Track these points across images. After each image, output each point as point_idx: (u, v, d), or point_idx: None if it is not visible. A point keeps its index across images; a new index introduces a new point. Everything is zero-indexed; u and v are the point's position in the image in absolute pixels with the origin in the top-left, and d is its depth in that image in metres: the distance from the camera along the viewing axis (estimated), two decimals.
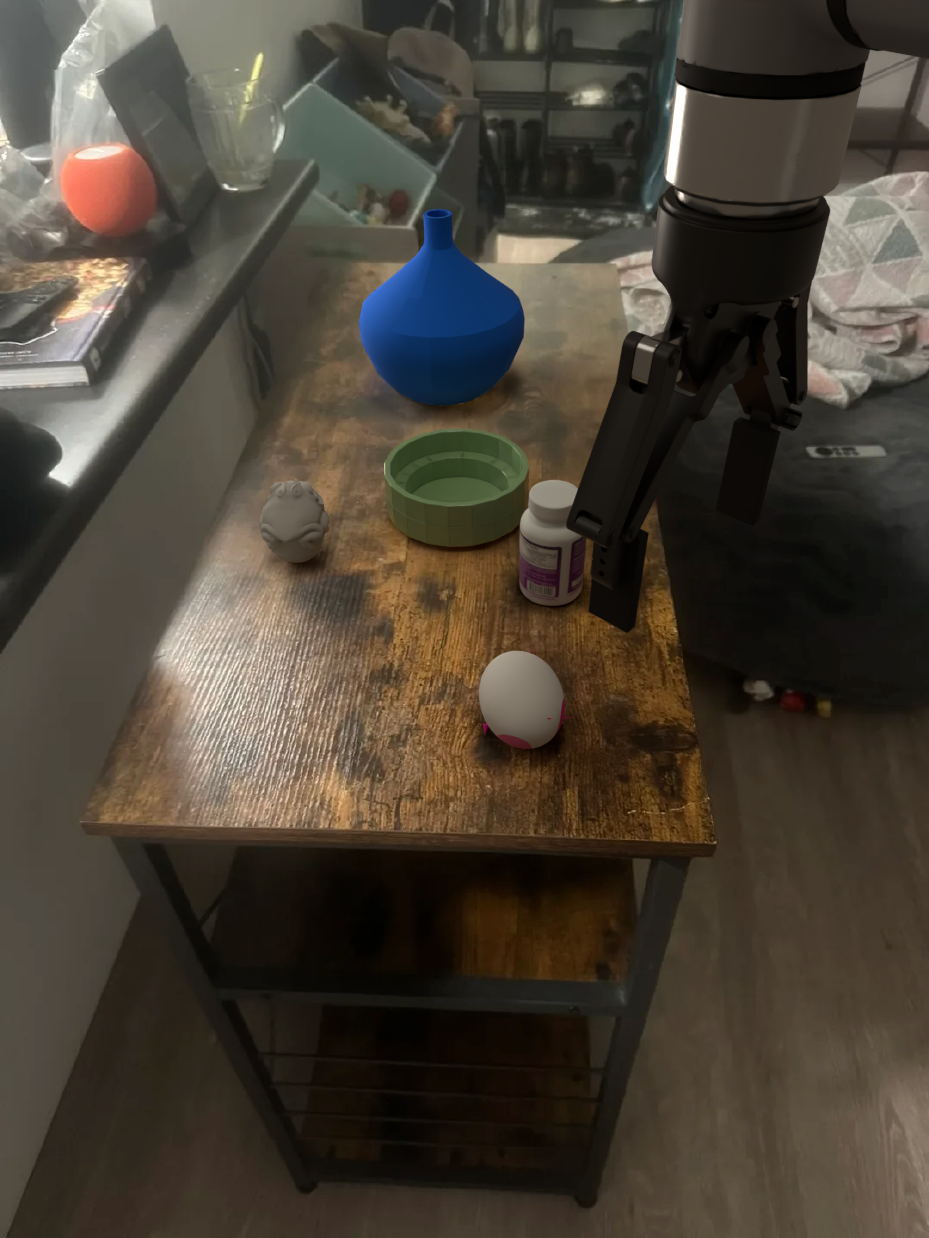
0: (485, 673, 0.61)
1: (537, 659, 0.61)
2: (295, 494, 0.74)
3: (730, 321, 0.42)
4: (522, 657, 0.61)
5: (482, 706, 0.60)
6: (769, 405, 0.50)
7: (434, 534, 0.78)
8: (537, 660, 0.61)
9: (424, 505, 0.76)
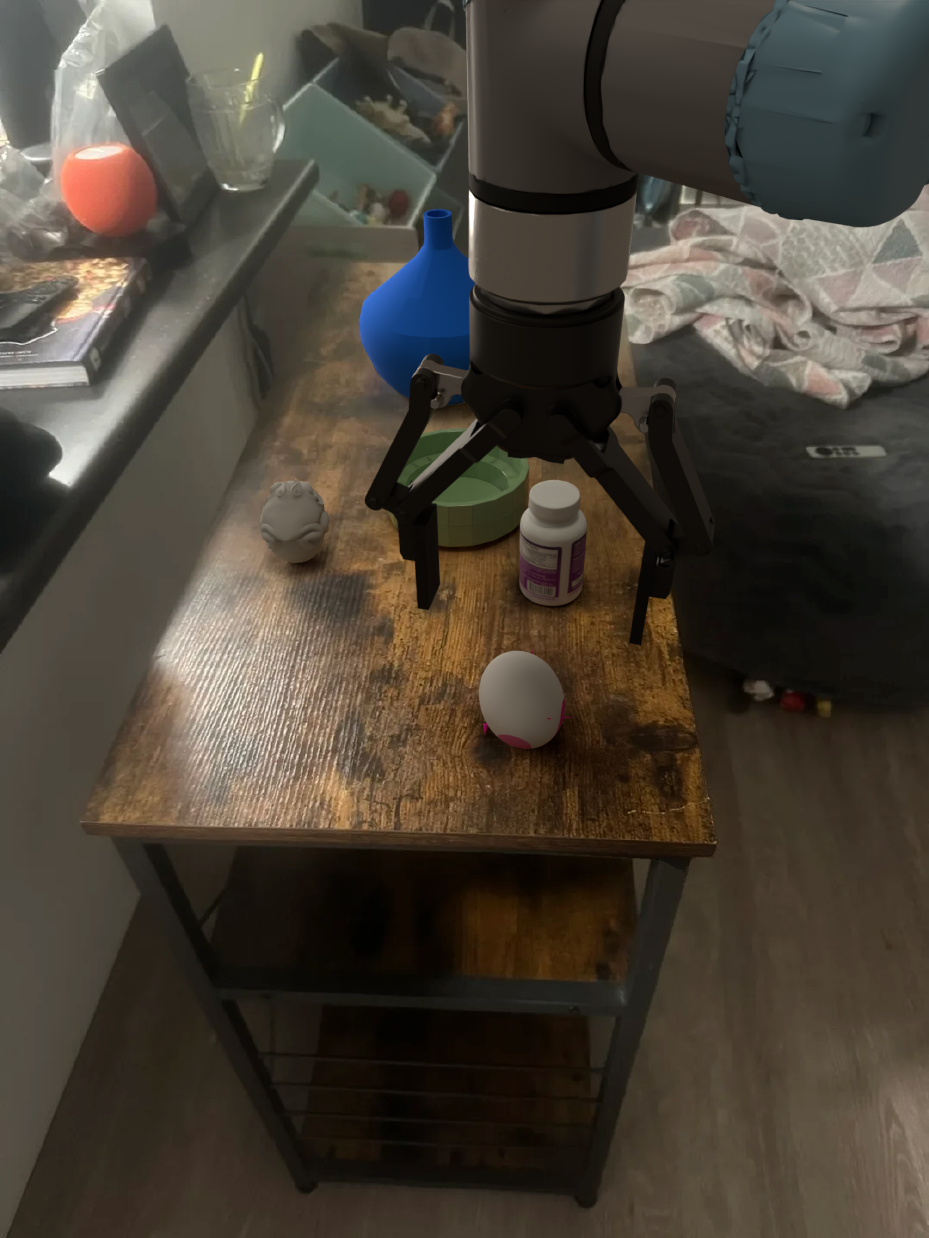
0: (485, 673, 0.61)
1: (537, 659, 0.61)
2: (295, 494, 0.74)
3: (514, 392, 0.45)
4: (523, 657, 0.61)
5: (482, 706, 0.60)
6: None
7: None
8: (537, 660, 0.61)
9: None
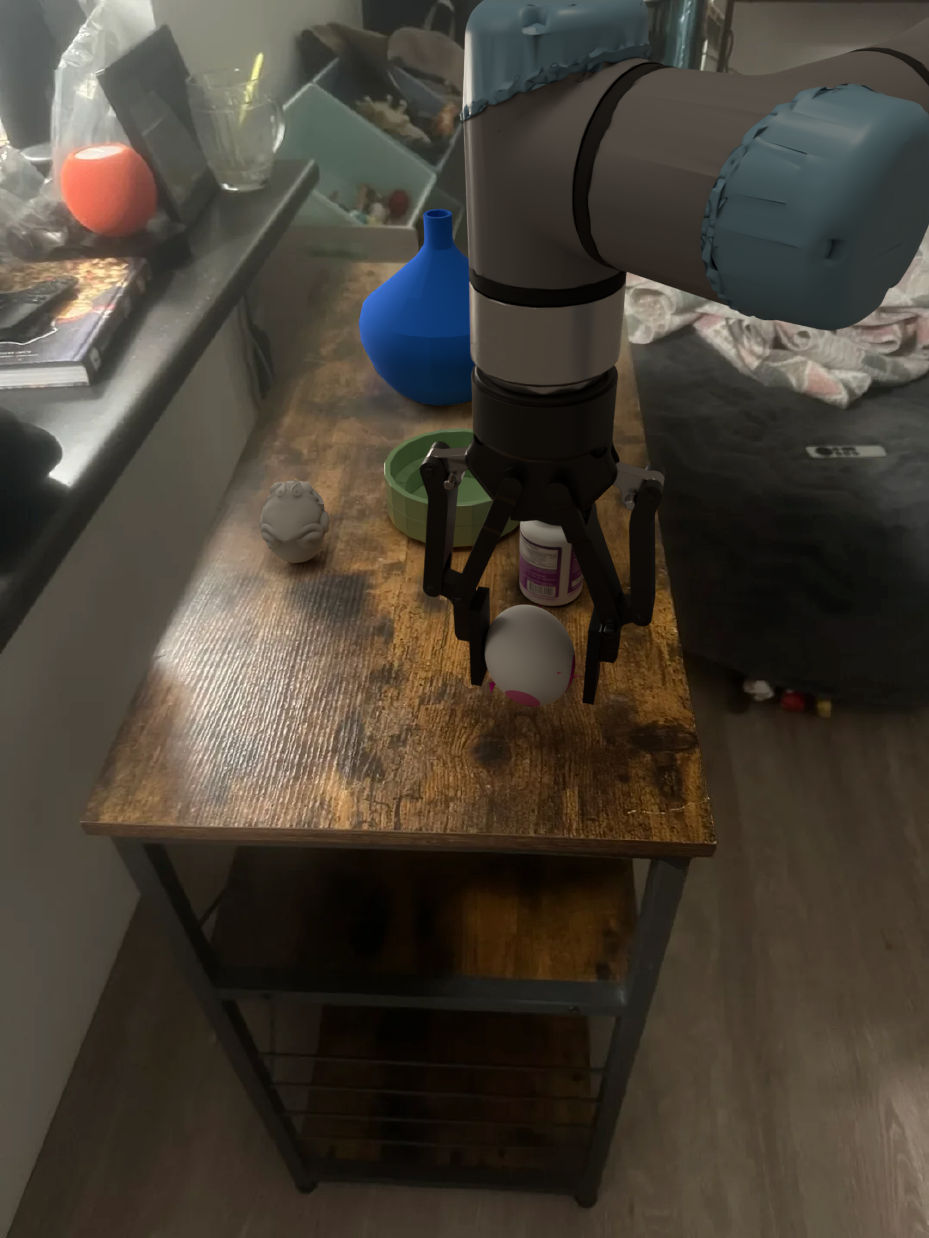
0: (491, 627, 0.58)
1: (546, 612, 0.58)
2: (295, 494, 0.74)
3: (515, 461, 0.48)
4: (531, 610, 0.57)
5: (488, 661, 0.57)
6: None
7: None
8: (546, 613, 0.58)
9: (424, 505, 0.76)
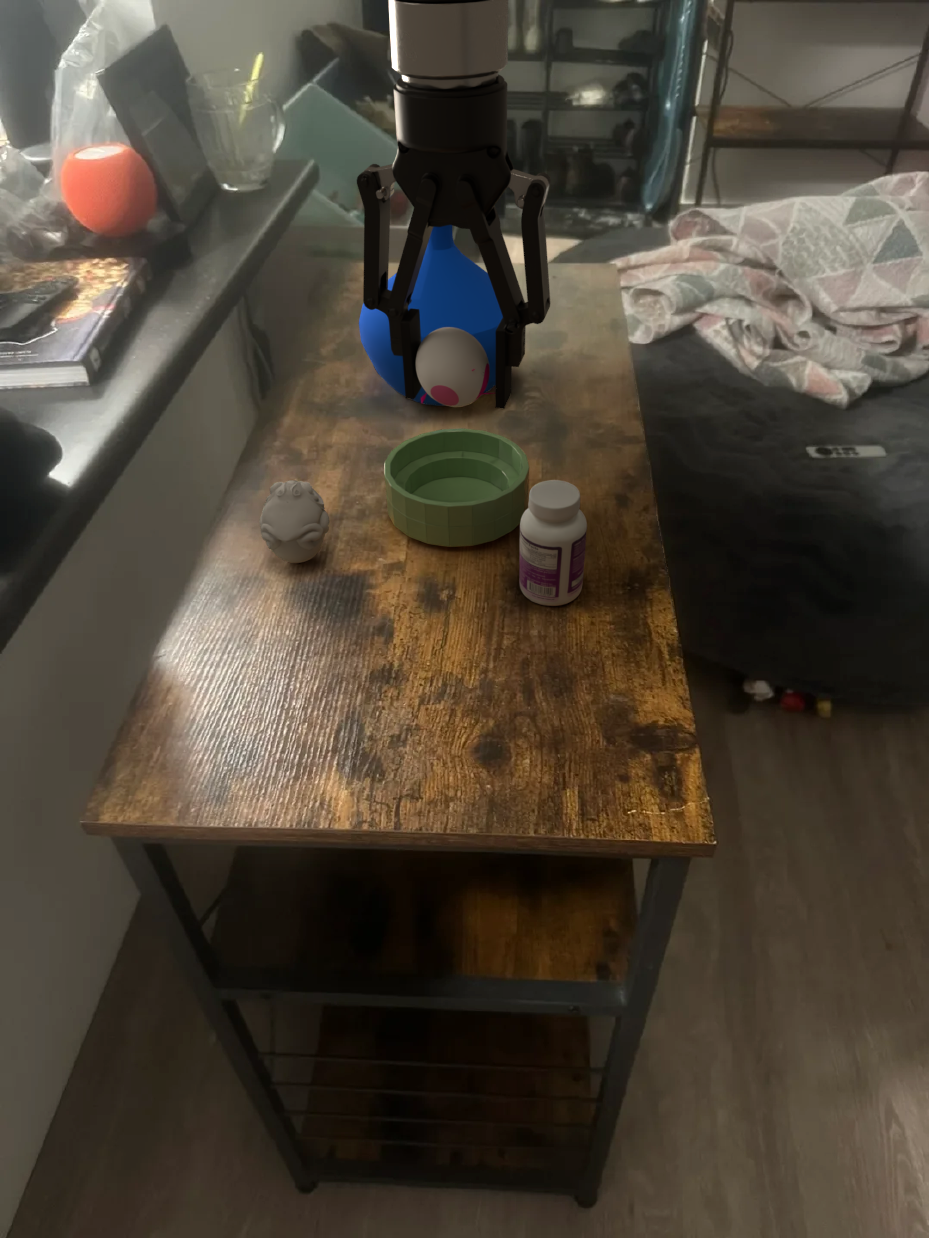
0: (421, 343, 0.71)
1: None
2: (295, 494, 0.74)
3: (430, 167, 0.60)
4: (453, 327, 0.70)
5: (417, 368, 0.70)
6: None
7: (434, 534, 0.78)
8: (465, 331, 0.70)
9: (424, 505, 0.76)
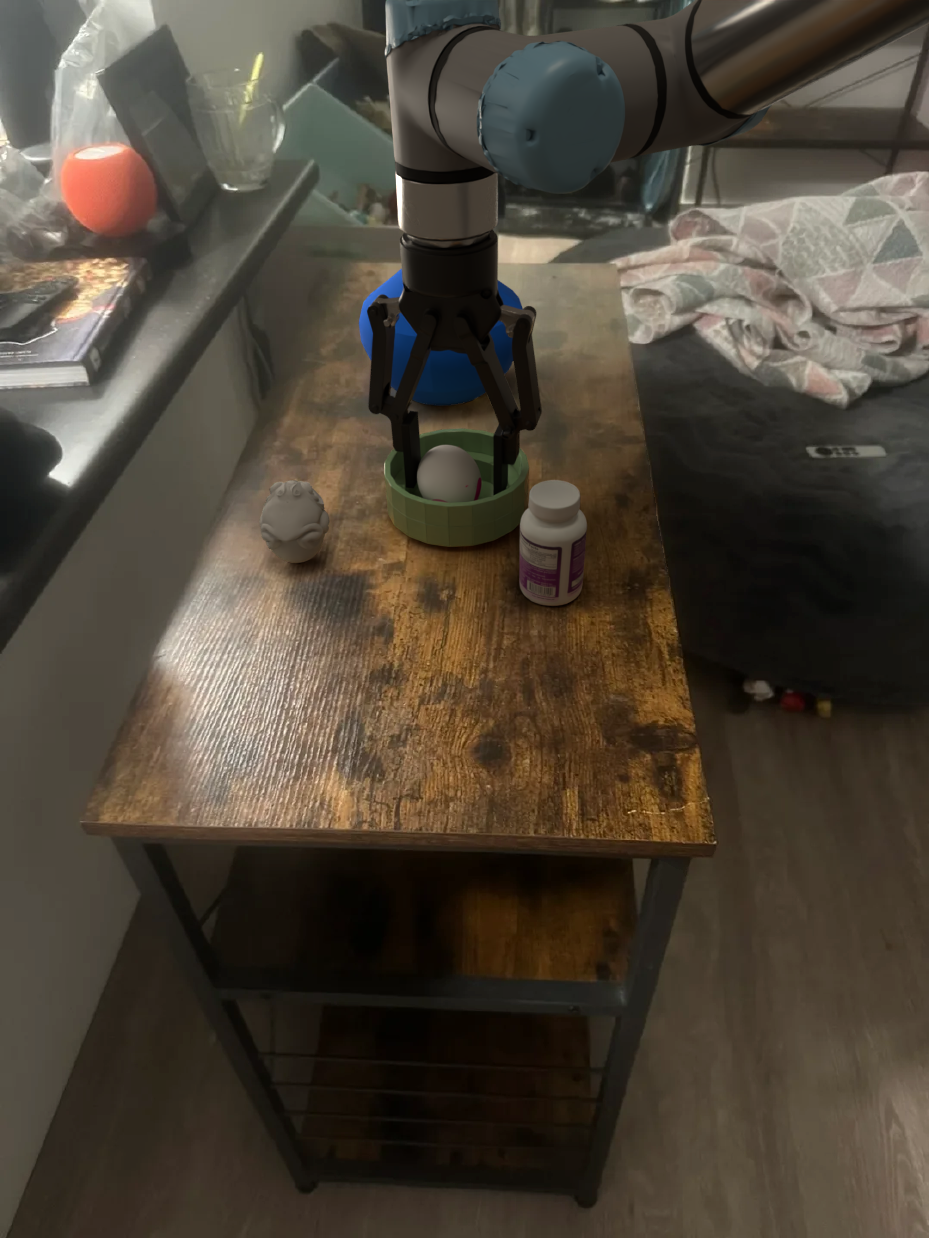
0: (421, 459, 0.81)
1: (461, 449, 0.81)
2: (295, 494, 0.74)
3: (431, 304, 0.70)
4: (449, 446, 0.81)
5: (418, 482, 0.80)
6: None
7: (434, 534, 0.78)
8: (460, 449, 0.81)
9: (424, 505, 0.76)
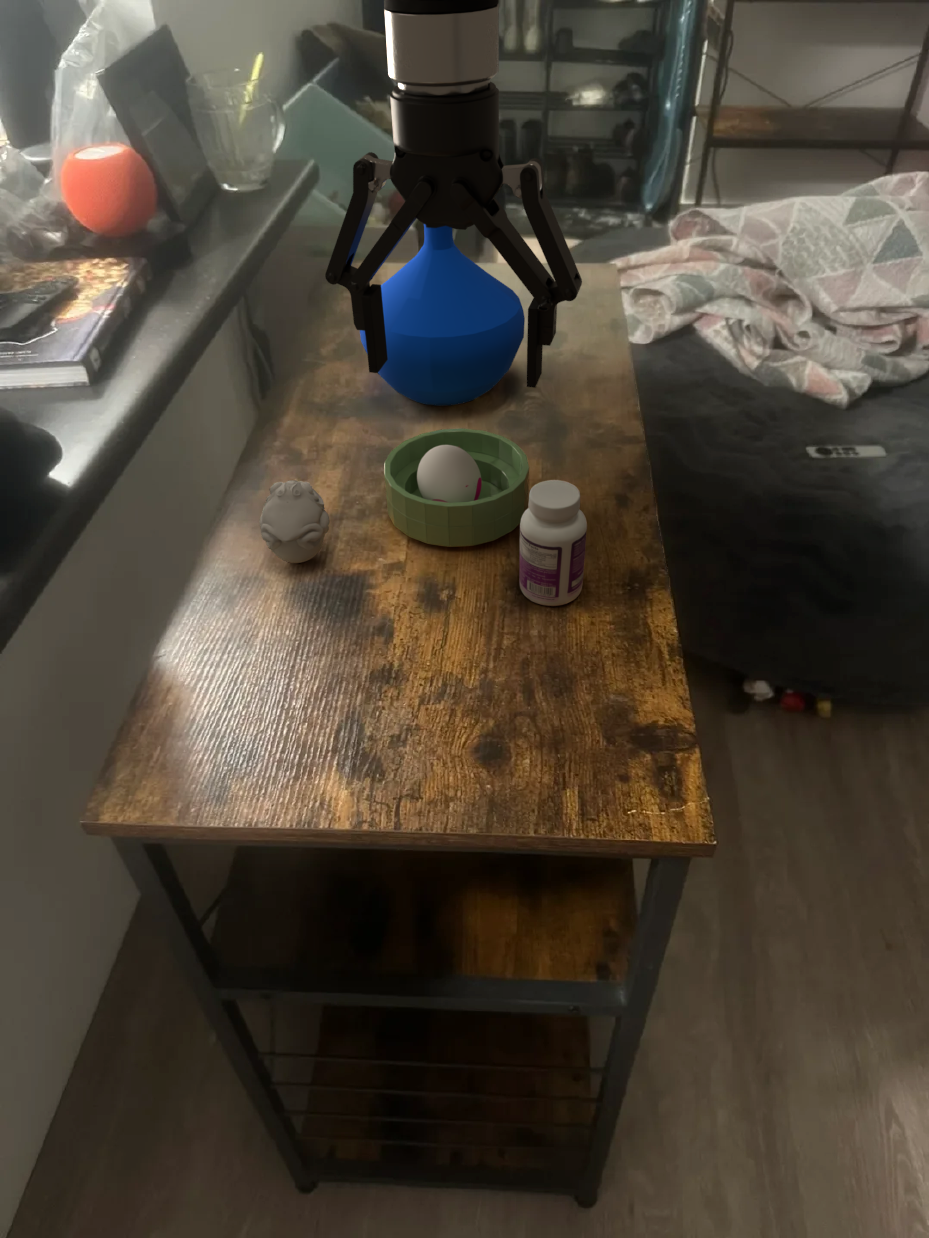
0: (421, 459, 0.81)
1: (461, 449, 0.81)
2: (295, 494, 0.74)
3: (426, 171, 0.63)
4: (449, 446, 0.81)
5: (418, 482, 0.80)
6: None
7: (434, 534, 0.78)
8: (460, 449, 0.81)
9: (424, 505, 0.76)
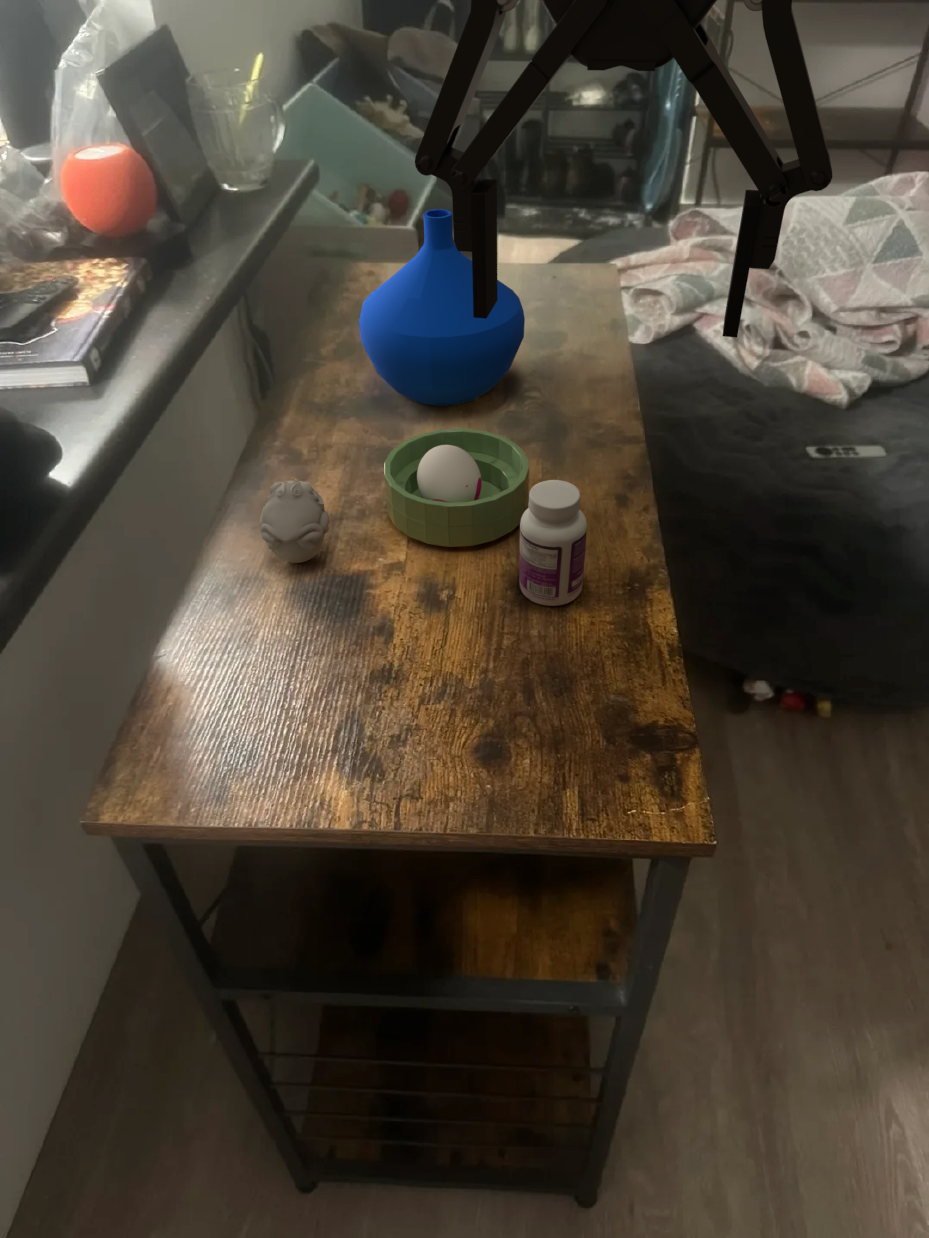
0: (421, 459, 0.81)
1: (461, 449, 0.81)
2: (295, 494, 0.74)
3: None
4: (449, 446, 0.81)
5: (418, 482, 0.80)
6: None
7: (434, 534, 0.78)
8: (460, 449, 0.81)
9: (424, 505, 0.76)
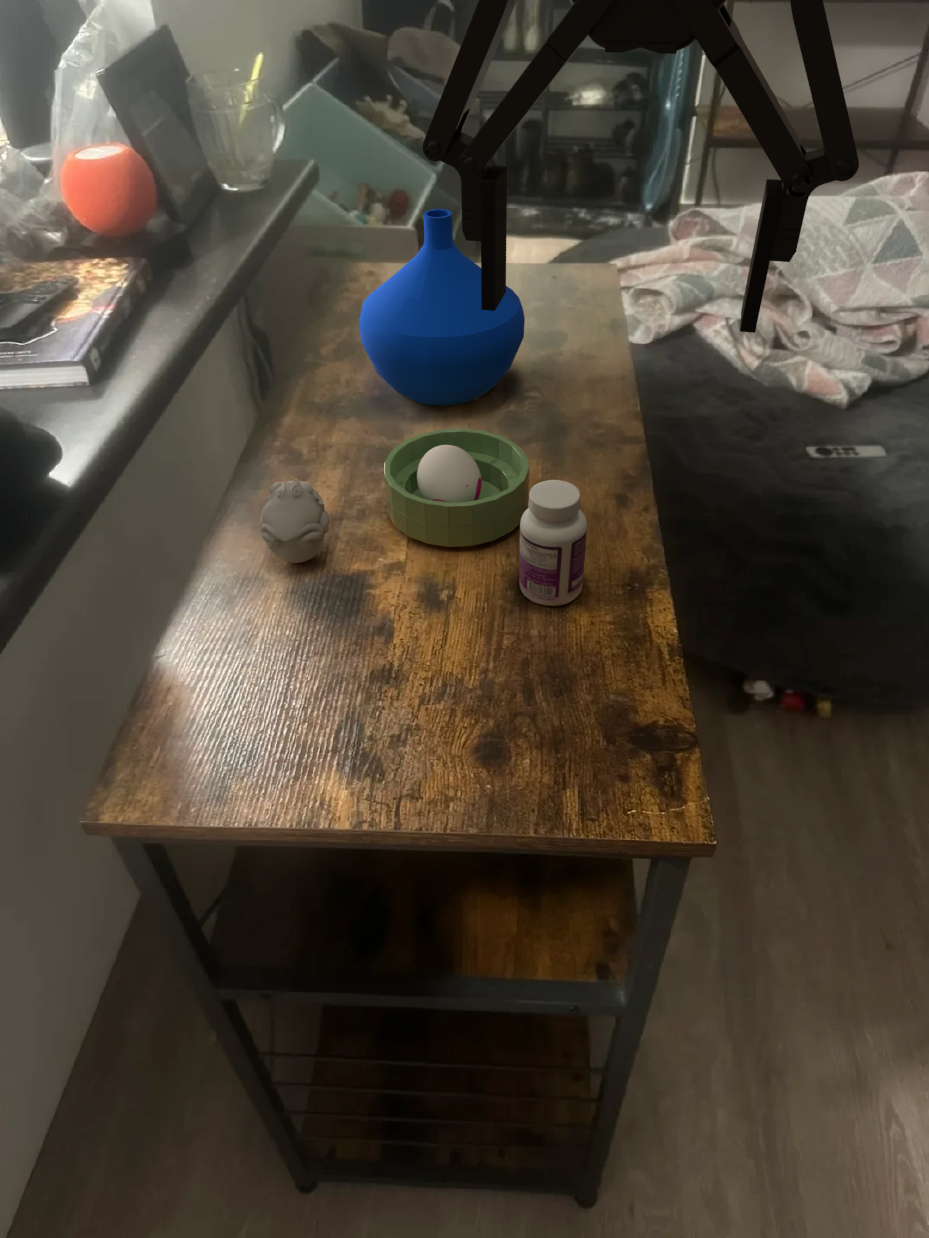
0: (421, 459, 0.81)
1: (461, 449, 0.81)
2: (295, 494, 0.74)
3: None
4: (449, 446, 0.81)
5: (418, 482, 0.80)
6: (759, 141, 0.40)
7: (434, 534, 0.78)
8: (460, 449, 0.81)
9: (424, 505, 0.76)
